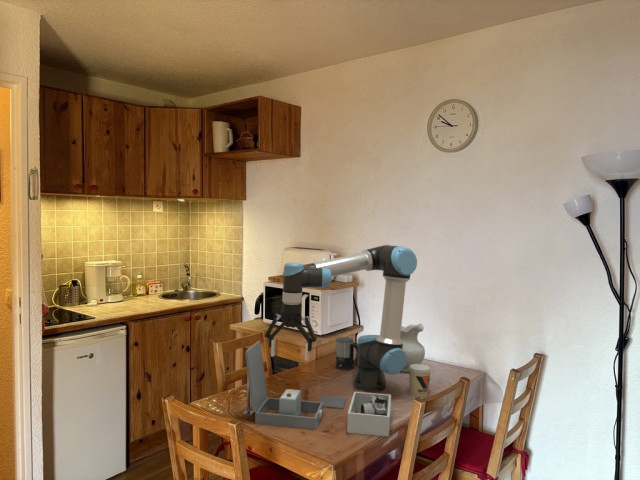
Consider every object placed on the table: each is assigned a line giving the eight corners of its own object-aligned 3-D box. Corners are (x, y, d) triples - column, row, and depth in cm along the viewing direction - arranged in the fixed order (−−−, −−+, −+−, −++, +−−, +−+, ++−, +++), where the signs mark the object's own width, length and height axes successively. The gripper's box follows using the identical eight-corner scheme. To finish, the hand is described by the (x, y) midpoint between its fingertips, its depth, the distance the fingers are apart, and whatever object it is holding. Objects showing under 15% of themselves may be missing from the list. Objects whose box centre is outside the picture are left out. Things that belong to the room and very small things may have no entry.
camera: (358, 413, 184) (358, 388, 184) (380, 413, 185) (381, 388, 185) (365, 431, 169) (365, 404, 169) (389, 431, 170) (390, 403, 169)
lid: (260, 340, 188) (256, 340, 189) (247, 351, 173) (243, 351, 173) (267, 396, 189) (264, 396, 189) (255, 412, 173) (251, 412, 174)
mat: (346, 399, 199) (346, 397, 199) (342, 409, 188) (342, 407, 188) (320, 396, 201) (320, 395, 201) (315, 406, 190) (315, 405, 190)
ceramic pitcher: (377, 372, 239) (377, 324, 236) (387, 359, 257) (387, 314, 254) (420, 378, 231) (421, 329, 228) (427, 364, 248) (428, 318, 246)
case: (324, 412, 185) (324, 402, 185) (317, 429, 170) (317, 418, 169) (267, 407, 189) (267, 397, 189) (255, 423, 174) (255, 412, 173)
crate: (390, 412, 186) (391, 394, 186) (388, 436, 165) (389, 417, 165) (353, 408, 189) (354, 391, 189) (347, 432, 168) (347, 413, 167)
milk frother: (333, 369, 239) (334, 340, 238) (339, 360, 254) (339, 333, 253) (361, 372, 236) (362, 342, 235) (365, 362, 251) (366, 335, 250)
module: (300, 413, 184) (301, 387, 183) (294, 424, 174) (295, 397, 174) (285, 412, 185) (286, 386, 184) (279, 422, 175) (279, 395, 175)
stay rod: (254, 412, 184) (255, 350, 183) (251, 416, 180) (252, 353, 179) (245, 411, 184) (246, 349, 183) (242, 415, 181) (243, 352, 180)
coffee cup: (417, 399, 201) (418, 371, 200) (403, 391, 209) (404, 365, 209) (434, 395, 205) (435, 368, 205) (420, 388, 214) (421, 362, 213)
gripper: (325, 303, 183) (323, 358, 184) (264, 299, 189) (262, 352, 189) (321, 307, 176) (319, 363, 177) (258, 302, 181) (255, 356, 182)
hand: (289, 357), depth 183 cm, fingers open, 13 cm apart
